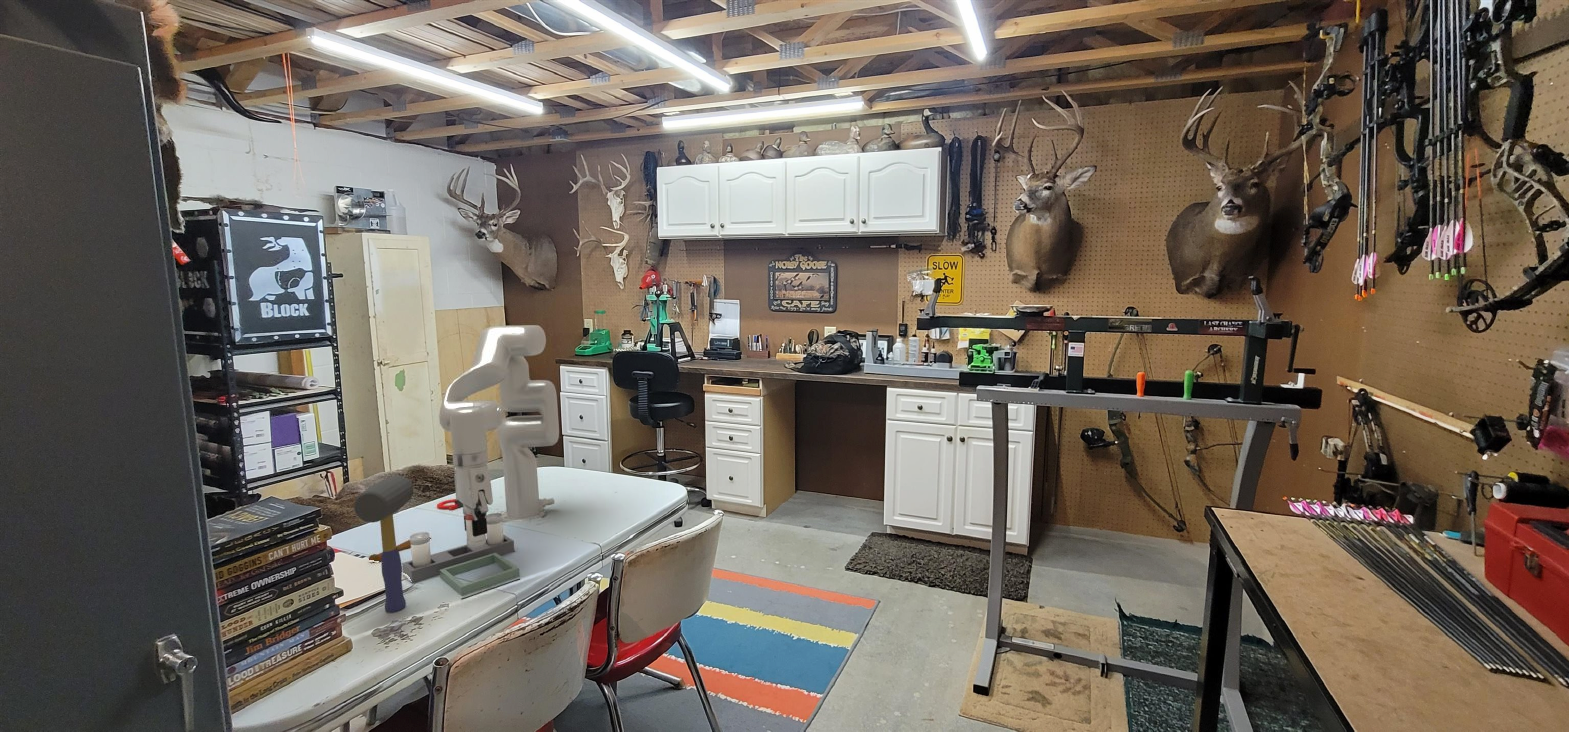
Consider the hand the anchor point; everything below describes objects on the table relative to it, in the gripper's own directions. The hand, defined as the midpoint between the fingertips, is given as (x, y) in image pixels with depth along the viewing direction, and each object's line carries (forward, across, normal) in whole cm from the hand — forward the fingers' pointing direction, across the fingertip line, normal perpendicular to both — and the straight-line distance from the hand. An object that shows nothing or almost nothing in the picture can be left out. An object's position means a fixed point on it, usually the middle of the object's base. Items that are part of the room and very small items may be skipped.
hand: (476, 531), depth 158 cm
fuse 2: (+11, +12, -9) cm, 19 cm away
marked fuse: (+3, 0, 0) cm, 3 cm away
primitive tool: (+13, +35, +7) cm, 38 cm away
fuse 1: (+11, +12, +9) cm, 19 cm away
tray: (+13, 0, 0) cm, 13 cm away
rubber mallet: (+13, -2, +19) cm, 23 cm away
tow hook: (+12, +63, -16) cm, 66 cm away
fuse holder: (+12, +12, 0) cm, 18 cm away
